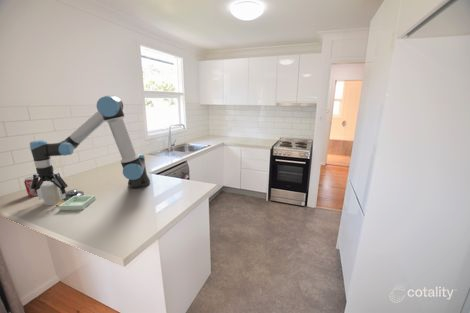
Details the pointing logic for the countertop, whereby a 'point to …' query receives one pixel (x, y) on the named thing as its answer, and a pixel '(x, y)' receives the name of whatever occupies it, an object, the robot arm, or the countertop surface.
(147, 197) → the countertop surface
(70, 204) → the tray
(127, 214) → the countertop surface
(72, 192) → the crank
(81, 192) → the crank base
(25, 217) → the countertop surface
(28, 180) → the soda can
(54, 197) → the cup
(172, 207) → the countertop surface
